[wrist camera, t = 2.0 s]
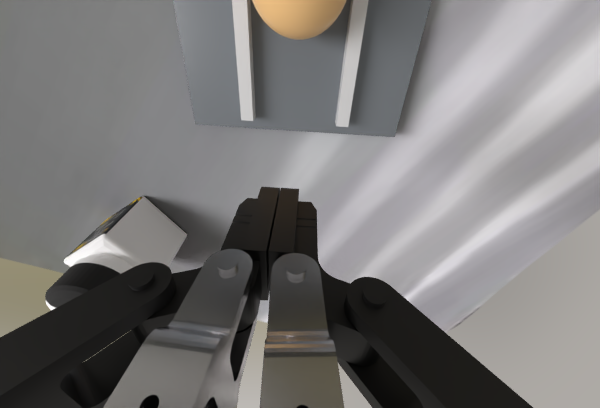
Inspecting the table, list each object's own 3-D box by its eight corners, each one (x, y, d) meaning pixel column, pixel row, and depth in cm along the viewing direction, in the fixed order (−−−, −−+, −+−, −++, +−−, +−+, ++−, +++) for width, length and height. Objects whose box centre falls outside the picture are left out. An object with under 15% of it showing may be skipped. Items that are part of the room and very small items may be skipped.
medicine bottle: (143, 194, 29) (59, 277, 19) (189, 234, 33) (136, 323, 23) (106, 218, 32) (14, 305, 22) (152, 254, 35) (90, 343, 25)
